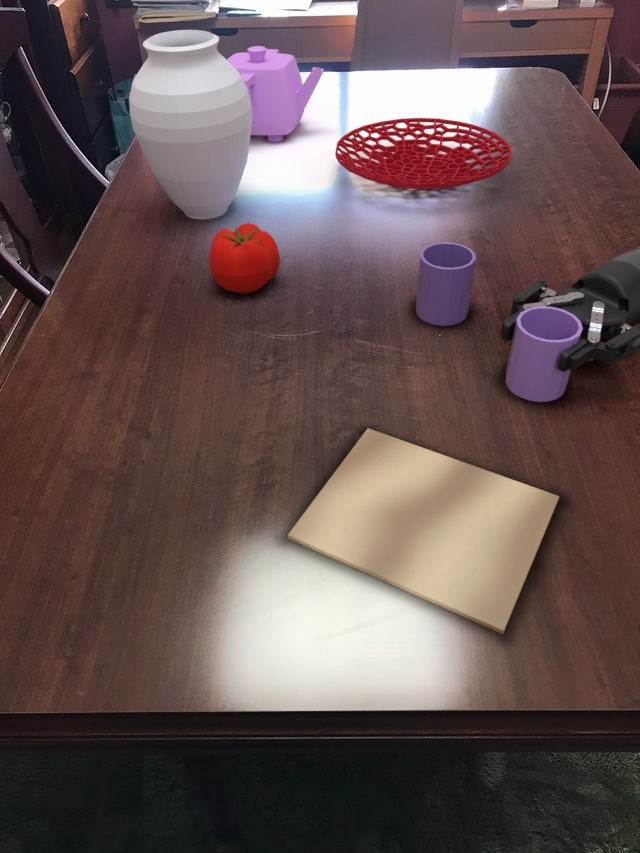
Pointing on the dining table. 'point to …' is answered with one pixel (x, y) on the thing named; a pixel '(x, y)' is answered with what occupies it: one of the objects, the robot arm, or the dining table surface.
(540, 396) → the lavender cup
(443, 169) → the bowl
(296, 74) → the teapot
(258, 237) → the tomato
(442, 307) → the lilac cup
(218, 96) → the vase
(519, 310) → the robot arm
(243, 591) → the dining table surface
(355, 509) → the mat
